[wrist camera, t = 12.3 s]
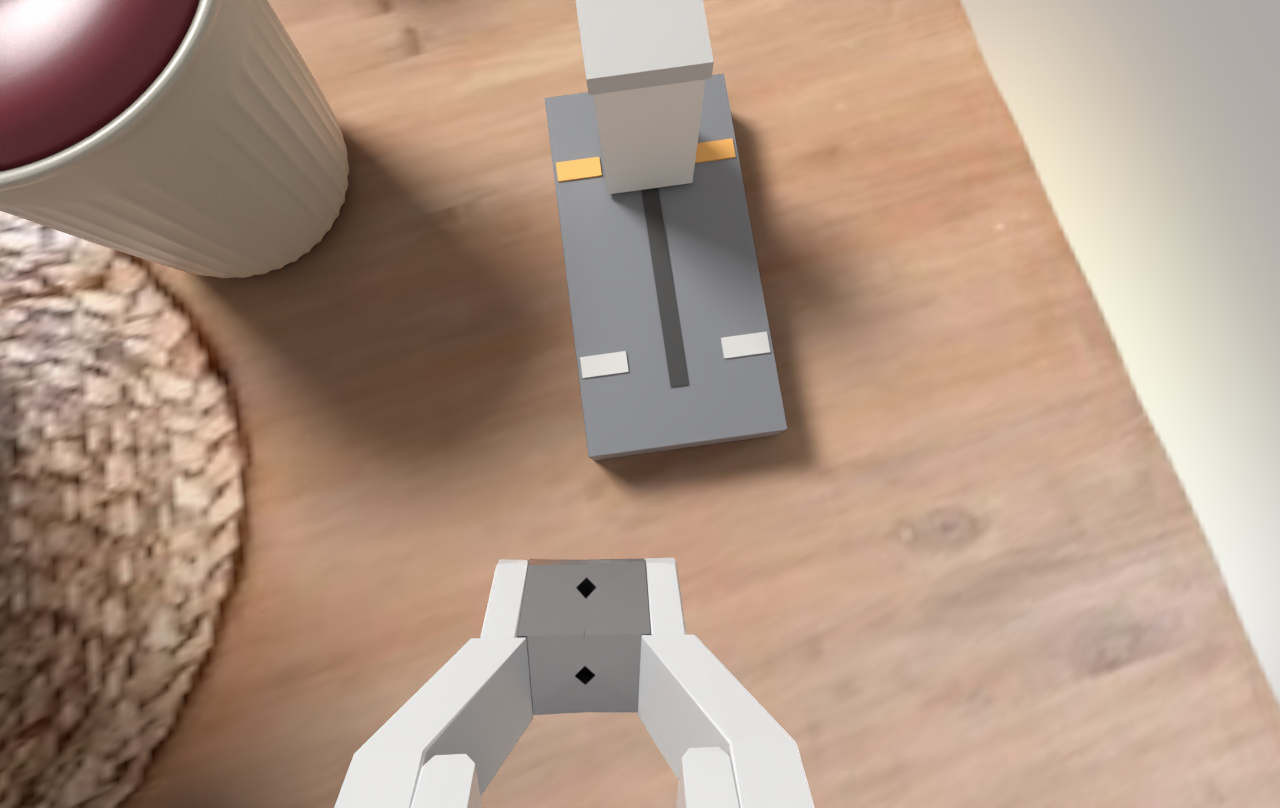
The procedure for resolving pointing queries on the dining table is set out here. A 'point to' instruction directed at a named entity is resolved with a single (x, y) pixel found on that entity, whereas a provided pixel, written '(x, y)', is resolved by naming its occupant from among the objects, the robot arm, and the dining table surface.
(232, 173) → the canister
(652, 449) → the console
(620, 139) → the fader tab
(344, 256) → the dining table surface
